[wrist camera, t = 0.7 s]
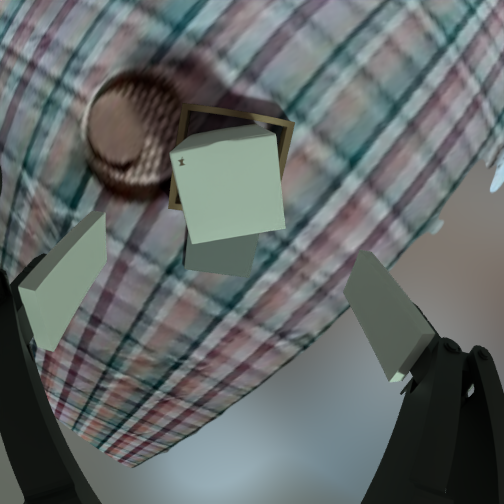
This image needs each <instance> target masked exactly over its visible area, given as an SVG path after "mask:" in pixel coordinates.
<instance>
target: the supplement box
mask: <svg viewBox="0 0 504 504" xmlns="http://www.w3.org/2000/svg"><path fill="white" fill-rule="evenodd" d="M169 155H170V159H171V164H172V168H173V173H174V177H175V181H176V185H177V189H178V193H179V197H180V201H181V205H182V209H183V213H184V217H185V220H186V224H187V228H188V232H189V235H190V239H191V243H192V244H197V243H202V242H208V241H214V240H219V239H225V238H231V237H237V236H243V235H249V234H255V233H261V232H267V231H273V230H279V229H285V228H286V227H285V220H284V210H283V201H282V190H281V180H280V169H279V158H278V149H277V140H276V134H275V133H273V132H271V131H269V130H267V129H265V128H263V127H261V126H259V125H257V124H248V125H241V126H235V127H229V128H223V129H217V130H212V131H206V132H201V133H196V134H192V135H190V136H189V137H187V138H186V139H185V140H184V141H182V142H181V143H180V144H179V145H178V146H176V147H175V148H174V149H173V150H172V151H171V152H170V153H169Z"/></svg>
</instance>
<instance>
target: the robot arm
mask: <svg viewBox="0 0 504 504" xmlns="http://www.w3.org/2000/svg"><path fill="white" fill-rule="evenodd" d="M1 189H2V174H1V167H0V195H1ZM106 262H107V256H106V229H105V212H97V211H91V212H90V213H89V214H88V215H87V216H86V217H85V218H84V219H83V220H81V221H80V222H79V223H78V224H77V225H76V226H75V227H74V228H73V229H72V230H71V231H70V232H69V233H68V234H67V235H66V236H65V237H64V238H63V239H62V240H61V241H60V242H59V243H58V244H57V245H56V246H55V247H54V248H53V249H52V250H51V251H50V252H49V253H48V254H44V253H43V254H41V255H39V256H38V257H36V258H34V259H33V260H32V261H31V262H30V263H29V264H28V265H27V267H25V268H24V270H23V271H22V272H21V273H20V274H19V275H18V276H17V277H16V278H15V279H14V281H13V282H12V283H11V284H9V280H8V277H7V274H6V271H4V270H3V269H0V433H1V436H2V440H3V443H4V446H5V449H6V452H7V455H8V458H9V461H10V463H11V466H12V469H13V471H14V474H15V476H16V479H17V481H18V484H19V486H20V488H21V490H22V493H23V495H24V499H25V502H24V504H102V503H101V502H100V500H99V499H98V497H97V496H96V494H95V493H94V491H93V490H92V488H91V486H90V485H89V483H88V481H87V480H86V478H85V476H84V475H83V473H82V471H81V469H80V468H79V466H78V464H77V462H76V460H75V459H74V456H73V455H72V453H71V451H70V449H69V447H68V445H67V443H66V441H65V438H64V436H63V434H62V432H61V430H60V428H59V425H58V423H57V421H56V418H55V416H54V414H53V411H52V409H51V406H50V404H49V401H48V398H47V396H46V393H45V390H44V387H43V384H42V382H41V379H40V376H39V372H38V369H37V366H36V363H35V359H34V356H33V352H32V349H31V346H30V344H29V342H30V341H31V339H32V337H33V336H34V338H35V341H36V344H37V346H38V347H40V348H43V349H46V350H49V351H53V352H54V350H55V348H56V346H57V344H58V343H59V341H60V339H61V337H62V335H63V333H64V331H65V330H66V328H67V326H68V324H69V322H70V321H71V319H72V317H73V315H74V314H75V312H76V310H77V308H78V307H79V305H80V303H81V302H82V300H83V298H84V297H85V295H86V293H87V292H88V290H89V288H90V287H91V285H92V284H93V282H94V280H95V279H96V277H97V276H98V274H99V273H100V271H101V269H102V268H103V266H104V265H105V263H106ZM343 293H344V295H345V297H346V298H347V300H348V302H349V304H350V306H351V308H352V310H353V311H354V313H355V315H356V317H357V319H358V321H359V323H360V325H361V327H362V329H363V330H364V332H365V334H366V336H367V338H368V340H369V342H370V344H371V346H372V348H373V350H374V352H375V354H376V356H377V358H378V360H379V362H380V364H381V366H382V368H383V370H384V373H385V374H386V377H387V379H388V381H389V382H395V381H403V379H404V378H405V376H406V375H407V374H408V373H409V371H410V372H411V374H412V376H413V377H412V379H411V380H410V381H409V382H408V384H407V385H406V386H405V387H404V389H403V390H402V391H401V393H400V394H401V395H402V394H403V393H404V392H405V391H406V393H405V397H404V400H403V403H402V406H401V409H400V412H399V416H398V418H397V421H396V424H395V427H394V430H393V433H392V435H391V438H390V440H389V443H388V445H387V448H386V451H385V453H384V455H383V458H382V460H381V462H380V465H379V467H378V469H377V471H376V474H375V476H374V478H373V480H372V482H371V484H370V486H369V488H368V490H367V492H366V494H365V497H364V498H363V500H362V502H361V504H504V393H503V389H502V385H501V382H500V379H499V376H498V373H497V370H496V367H495V364H494V361H493V358H492V356H491V354H490V353H489V352H488V350H487V349H485V348H484V347H481V346H477V345H476V346H474V347H473V348H472V350H471V351H470V353H465V352H462V350H461V348H460V346H459V345H458V344H457V343H456V342H454V341H453V340H451V339H449V338H444V337H443V338H441V337H440V336H439V334H438V333H437V332H436V330H435V329H434V327H433V326H432V325H431V323H430V322H429V321H427V318H426V317H425V315H423V313H422V311H421V310H420V309H419V308H418V306H417V305H415V304H414V303H413V302H412V301H411V300H410V298H409V297H408V296H407V295H406V293H405V292H404V291H403V290H402V288H401V287H400V286H399V285H398V283H397V282H396V281H395V280H394V278H393V277H392V276H391V275H390V273H389V272H388V271H387V270H386V268H385V267H384V266H383V265H382V264H381V262H380V261H379V260H378V259H377V258H376V256H375V255H374V254H373V253H372V252H370V251H364V250H360V251H359V254H358V256H357V259H356V261H355V264H354V267H353V269H352V272H351V274H350V277H349V279H348V282H347V284H346V286H345V289H344V291H343ZM473 386H474V393H473V394H472V395H471V396H470V397H468V392H469V391H470V390H471V389H472V387H473ZM445 492H446V493H445Z"/></svg>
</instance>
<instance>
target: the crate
mask: <svg viewBox="0 0 504 504" xmlns="http://www.w3.org/2000/svg"><path fill="white" fill-rule="evenodd" d="M191 111H200V112H207V113H214V114H221V115H227V116H234V117H239V118H245V119H251V120H256V121H261V122H266V123H271V124H276V125H280V126H283V127H282V132H281V136H280V141H279V145H278V158H279V169H280V180H281V181H282V176H283V172H284V168H285V164H286V159H287V155H288V151H289V146H290V142H291V138H292V134H293V129H294V125H295V122H291V121H287V120H282V119H278V118H273V117H269V116H264V115H259V114H254V113H248V112H243V111H237V110H231V109H225V108H218V107H211V106H204V105H196V104H187V103H183V104H182V109H181V115H180V121H179V127H178V134H177V140H176V146H178V145H179V144H180V143H181V142H182V141H184V140H185V139H186V138H187V132H188V126H189V120H190V114H191ZM178 196H179V193H178V189H177V185H176V181H175V177H174V173H173V170H172V178H171V187H170V196H169V206H168V209H175V210H182V211H183V209H182V205H181V201H180V197H178Z"/></svg>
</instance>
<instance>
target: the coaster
mask: <svg viewBox="0 0 504 504" xmlns="http://www.w3.org/2000/svg"><path fill="white" fill-rule="evenodd" d="M258 237H259V233H255V234H249V235H243V236H237V237H231V238H225V239H219V240H214V241H208V242H202V243H197V244H192V243H191V239H190V235H189V232H188V238H187V247H186V257H185V267H184V269H187V270H195V271H202V272H209V273H217V274H224V275H232V276H239V277H247V278H249V276H250V272H251V268H252V263H253V259H254V254H255V250H256V246H257V241H258Z"/></svg>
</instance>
